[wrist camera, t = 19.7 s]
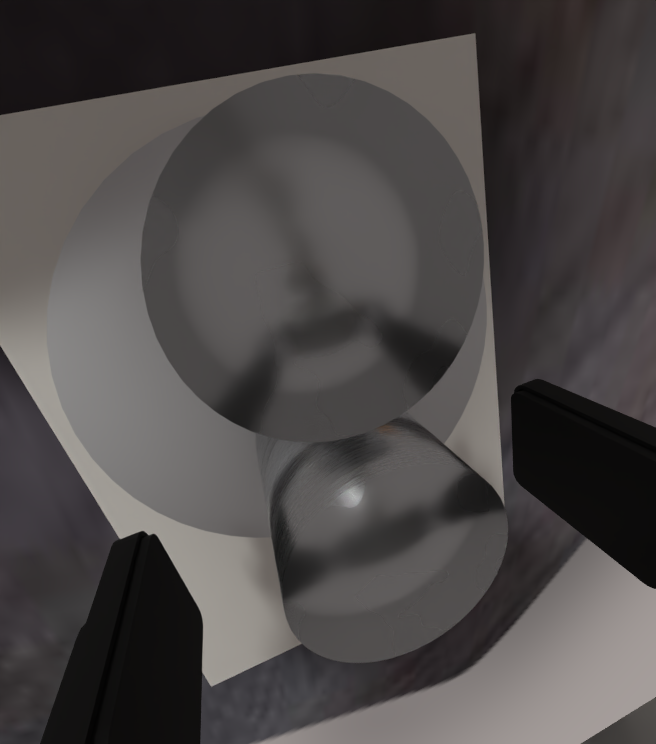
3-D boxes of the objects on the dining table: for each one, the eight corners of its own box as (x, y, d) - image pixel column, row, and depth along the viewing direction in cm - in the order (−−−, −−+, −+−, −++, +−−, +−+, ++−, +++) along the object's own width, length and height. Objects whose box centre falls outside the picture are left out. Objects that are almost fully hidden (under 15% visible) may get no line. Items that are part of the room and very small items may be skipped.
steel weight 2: (223, 442, 12) (224, 605, 6) (333, 338, 12) (430, 413, 6) (320, 517, 14) (385, 690, 8) (415, 428, 14) (542, 545, 8)
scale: (-43, 164, 11) (-172, 123, 7) (424, 75, 14) (498, 13, 10) (212, 624, 19) (210, 712, 16) (471, 509, 22) (521, 561, 19)
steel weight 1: (152, 193, 9) (59, 113, 4) (334, 153, 10) (471, 44, 5) (218, 370, 11) (220, 486, 6) (367, 323, 12) (492, 385, 7)
